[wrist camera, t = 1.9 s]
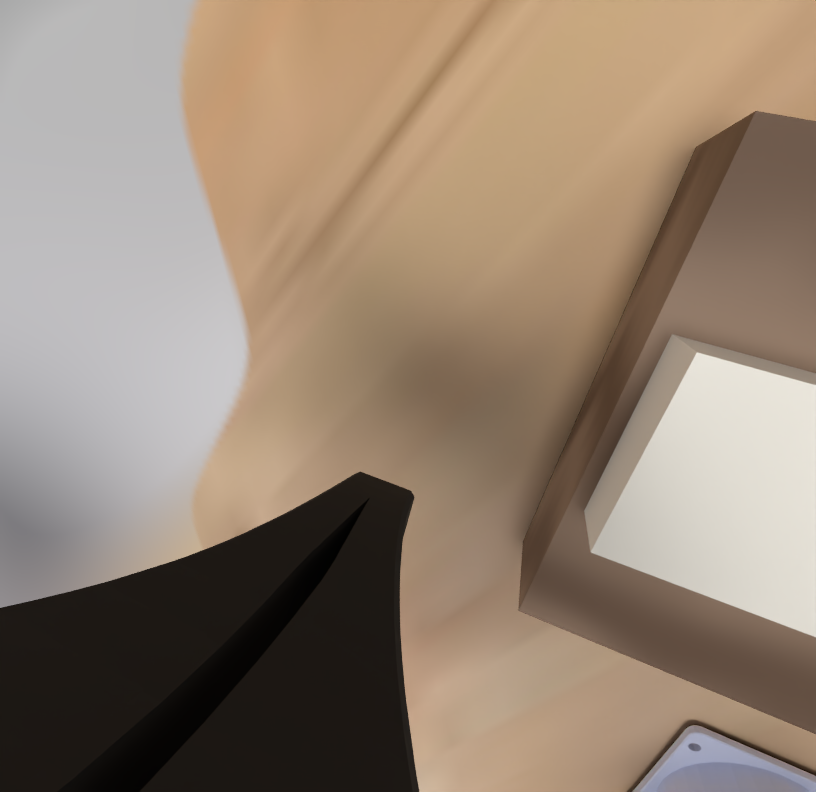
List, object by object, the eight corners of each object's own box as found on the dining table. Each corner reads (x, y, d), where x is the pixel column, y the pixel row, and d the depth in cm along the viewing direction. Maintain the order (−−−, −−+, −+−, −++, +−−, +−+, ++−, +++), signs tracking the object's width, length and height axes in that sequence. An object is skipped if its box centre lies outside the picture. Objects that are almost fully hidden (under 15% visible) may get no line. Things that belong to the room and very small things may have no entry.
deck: (814, 653, 17) (886, 763, 13) (523, 541, 19) (518, 610, 16) (1200, 244, 11) (1537, 246, 7) (696, 147, 13) (755, 110, 9)
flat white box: (905, 626, 12) (970, 695, 10) (584, 510, 14) (590, 552, 12) (1091, 448, 9) (1218, 496, 8) (672, 334, 11) (696, 352, 9)
